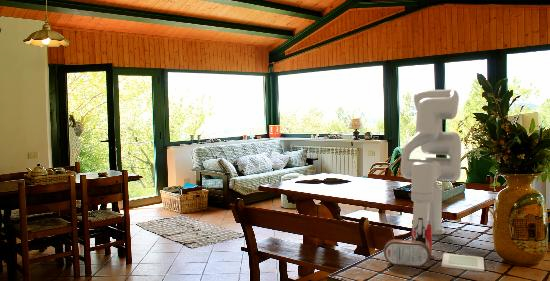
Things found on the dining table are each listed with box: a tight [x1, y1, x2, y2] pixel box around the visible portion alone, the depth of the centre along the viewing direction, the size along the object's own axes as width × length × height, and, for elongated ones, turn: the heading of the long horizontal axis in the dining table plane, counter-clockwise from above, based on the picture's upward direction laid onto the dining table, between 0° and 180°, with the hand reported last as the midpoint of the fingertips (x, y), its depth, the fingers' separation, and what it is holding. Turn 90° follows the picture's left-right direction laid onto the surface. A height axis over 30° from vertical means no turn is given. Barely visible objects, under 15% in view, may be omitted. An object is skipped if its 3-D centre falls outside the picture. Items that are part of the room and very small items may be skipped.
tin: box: [383, 238, 431, 268], centre depth 160 cm, size 15×3×8 cm, turn 73°
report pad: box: [441, 252, 485, 272], centre depth 162 cm, size 13×13×1 cm
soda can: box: [411, 222, 433, 256], centre depth 171 cm, size 7×7×12 cm
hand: (421, 245), depth 171 cm, fingers closed on soda can, 7 cm apart
